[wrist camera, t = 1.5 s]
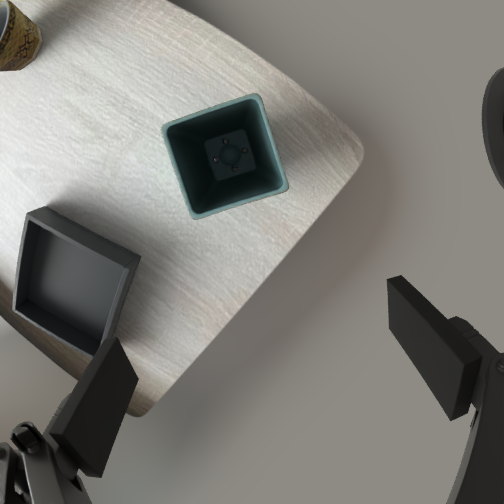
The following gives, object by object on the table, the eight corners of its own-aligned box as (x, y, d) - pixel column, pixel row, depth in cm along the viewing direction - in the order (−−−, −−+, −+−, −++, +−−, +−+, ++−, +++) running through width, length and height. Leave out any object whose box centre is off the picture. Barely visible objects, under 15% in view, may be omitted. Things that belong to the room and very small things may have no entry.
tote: (141, 256, 38) (129, 269, 34) (110, 345, 42) (99, 362, 38) (44, 205, 35) (26, 212, 31) (27, 297, 39) (12, 310, 35)
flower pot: (179, 130, 33) (158, 125, 25) (256, 105, 32) (259, 91, 24) (204, 203, 36) (191, 222, 27) (280, 180, 35) (291, 190, 27)
